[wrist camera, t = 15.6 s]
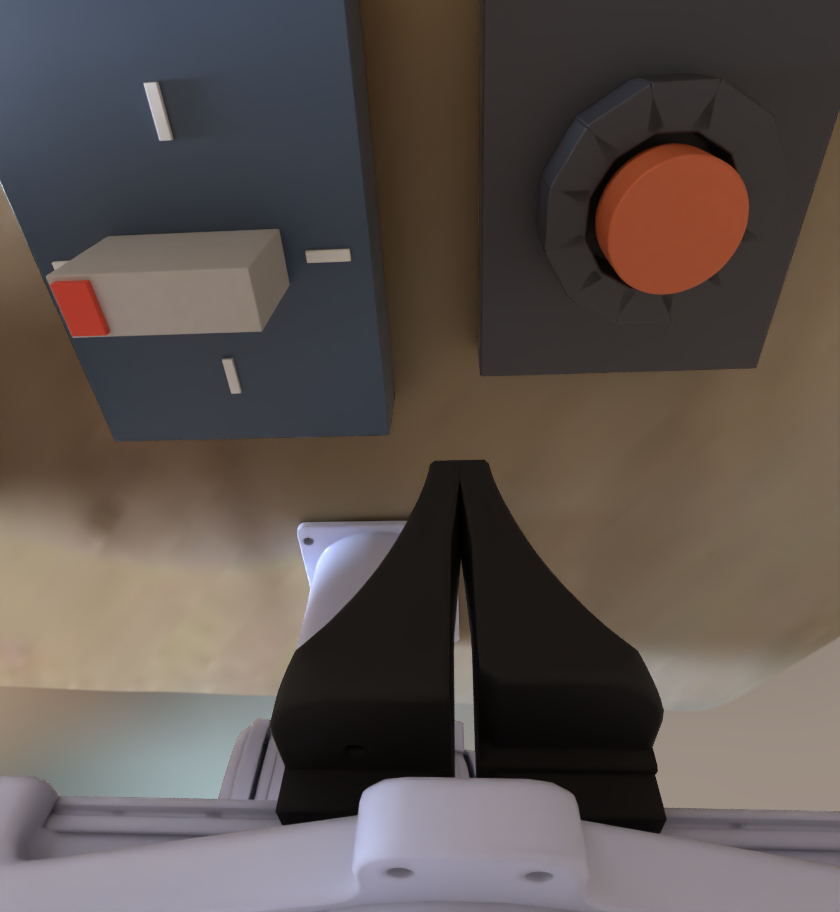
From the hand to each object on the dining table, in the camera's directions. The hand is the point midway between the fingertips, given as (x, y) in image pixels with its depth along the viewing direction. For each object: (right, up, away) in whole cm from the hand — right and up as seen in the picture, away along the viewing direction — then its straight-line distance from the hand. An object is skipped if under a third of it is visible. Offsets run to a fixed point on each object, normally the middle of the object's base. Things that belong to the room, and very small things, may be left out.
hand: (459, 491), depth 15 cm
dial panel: (-8, +9, +7) cm, 14 cm away
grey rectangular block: (-8, +7, +4) cm, 12 cm away
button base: (+6, +10, +5) cm, 13 cm away
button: (+6, +8, +2) cm, 10 cm away
